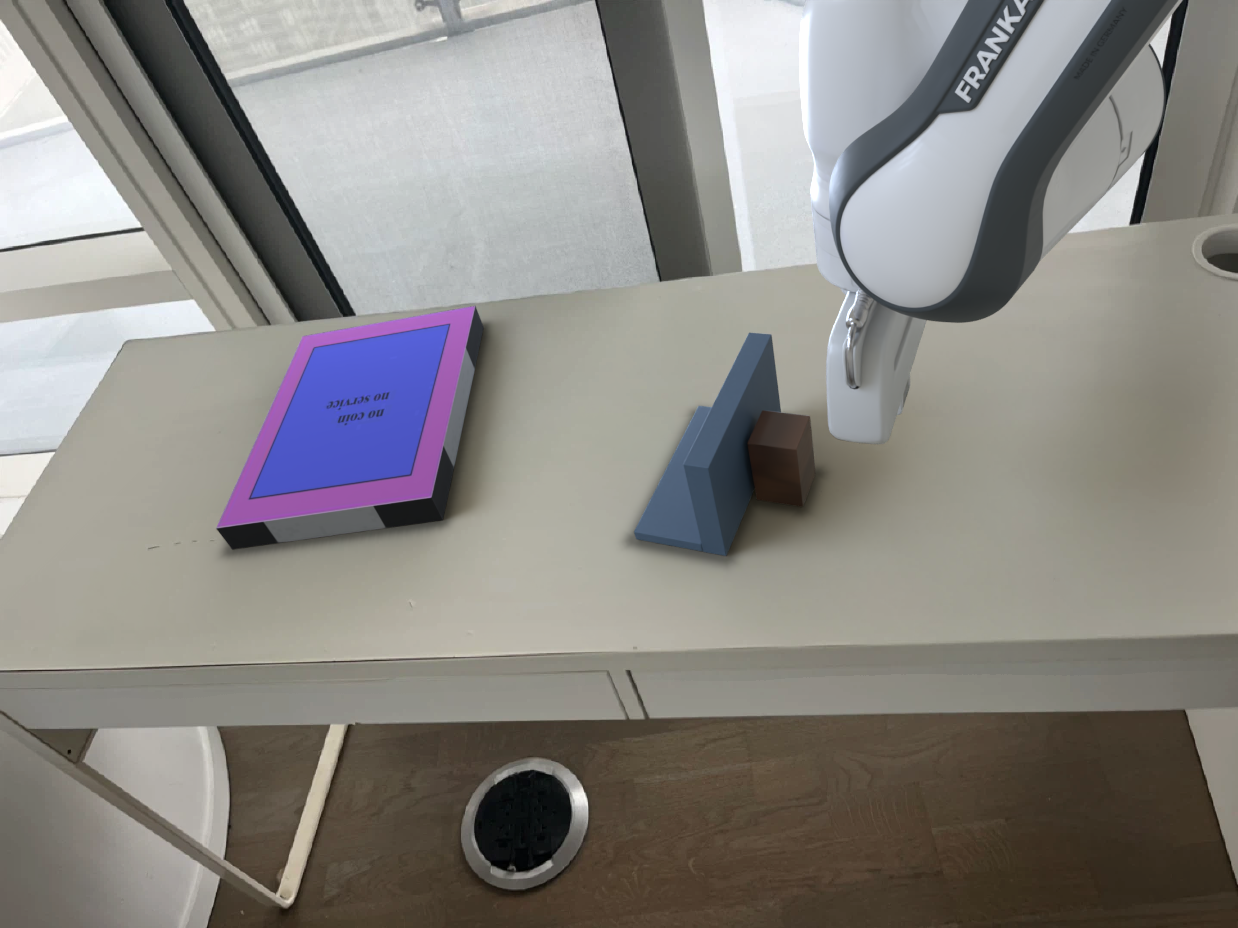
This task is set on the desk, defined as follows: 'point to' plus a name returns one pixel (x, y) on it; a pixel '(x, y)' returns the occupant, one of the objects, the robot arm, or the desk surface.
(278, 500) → the book
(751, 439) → the walnut block
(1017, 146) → the robot arm
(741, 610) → the desk surface
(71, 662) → the desk surface
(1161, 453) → the desk surface
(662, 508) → the bookend
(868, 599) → the desk surface
